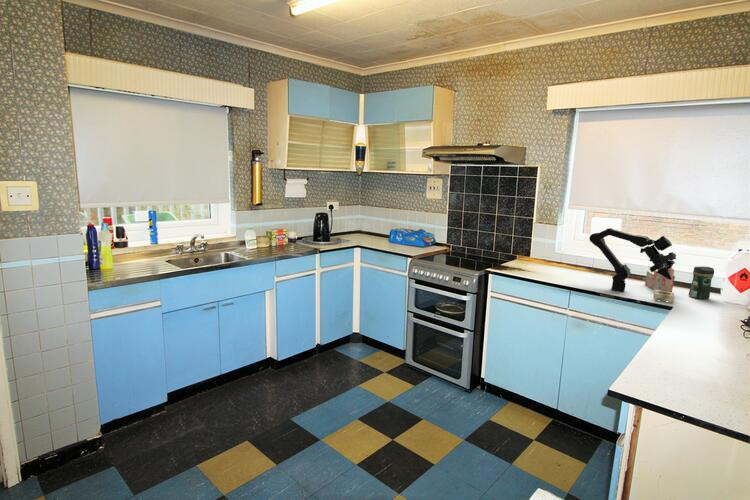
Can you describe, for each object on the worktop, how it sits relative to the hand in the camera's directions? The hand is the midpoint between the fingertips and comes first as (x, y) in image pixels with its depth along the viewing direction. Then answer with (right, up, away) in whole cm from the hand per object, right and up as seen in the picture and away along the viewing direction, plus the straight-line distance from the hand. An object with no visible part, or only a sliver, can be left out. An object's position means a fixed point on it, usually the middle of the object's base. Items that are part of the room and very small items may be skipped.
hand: (672, 279), depth 236 cm
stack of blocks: (+9, -9, +26) cm, 28 cm away
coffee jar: (+24, -12, +13) cm, 30 cm away
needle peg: (-1, -6, +3) cm, 7 cm away
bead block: (-1, -12, +6) cm, 14 cm away
